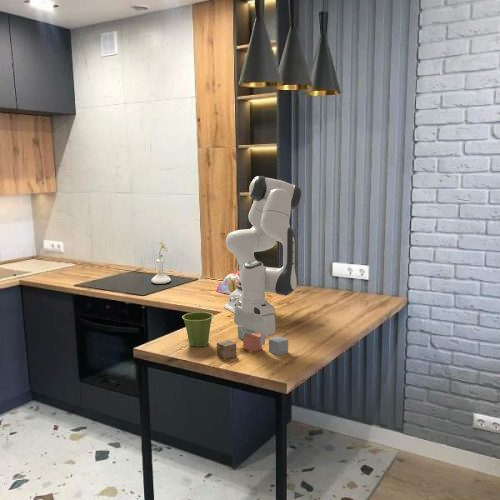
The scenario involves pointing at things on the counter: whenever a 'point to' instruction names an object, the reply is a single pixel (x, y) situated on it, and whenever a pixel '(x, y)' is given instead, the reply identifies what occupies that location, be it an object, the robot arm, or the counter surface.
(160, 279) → the flower in vase
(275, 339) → the slate grey block
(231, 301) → the robot arm
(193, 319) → the plant pot
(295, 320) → the counter surface
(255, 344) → the brick-red block
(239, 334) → the muted teal block
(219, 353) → the walnut block
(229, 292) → the candy landscape model
